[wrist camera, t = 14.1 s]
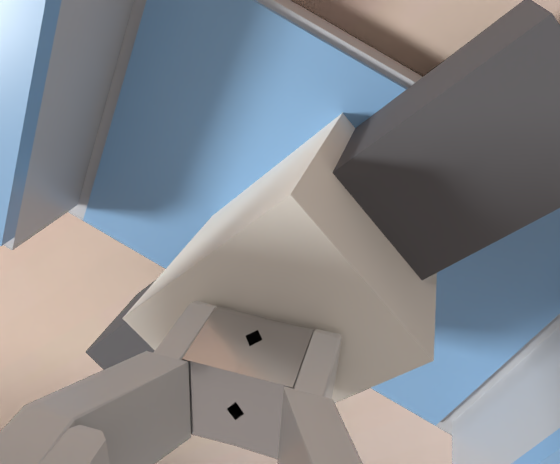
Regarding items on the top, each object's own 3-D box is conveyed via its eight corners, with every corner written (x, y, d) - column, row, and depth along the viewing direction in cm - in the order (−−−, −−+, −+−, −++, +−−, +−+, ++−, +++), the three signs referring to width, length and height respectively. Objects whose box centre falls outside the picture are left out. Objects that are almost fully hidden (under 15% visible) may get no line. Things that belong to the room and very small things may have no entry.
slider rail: (480, 429, 18) (489, 559, 14) (-330, -43, 18) (-538, -39, 14) (707, 241, 13) (815, 363, 9) (-407, -404, 13) (-755, -546, 9)
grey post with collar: (206, 364, 18) (134, 488, 14) (127, 283, 18) (25, 389, 13) (616, 130, 11) (717, 239, 7) (513, -23, 10) (557, -4, 6)
